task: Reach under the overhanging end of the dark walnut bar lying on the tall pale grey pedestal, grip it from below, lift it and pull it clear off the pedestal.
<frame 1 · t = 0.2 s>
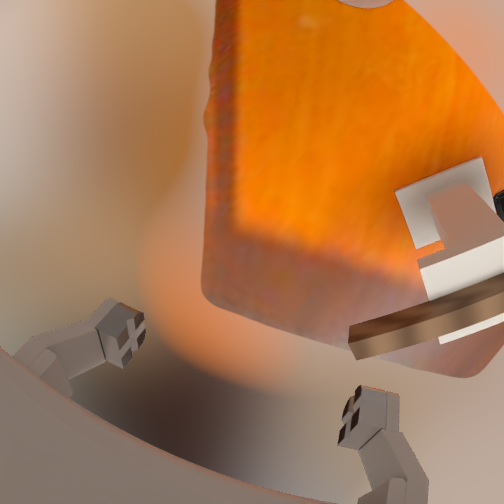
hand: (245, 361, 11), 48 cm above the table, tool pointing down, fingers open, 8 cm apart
walnut bar: (455, 302, 31), point 26 cm above the table, touching pedestal
pedestal: (448, 202, 49), on the table
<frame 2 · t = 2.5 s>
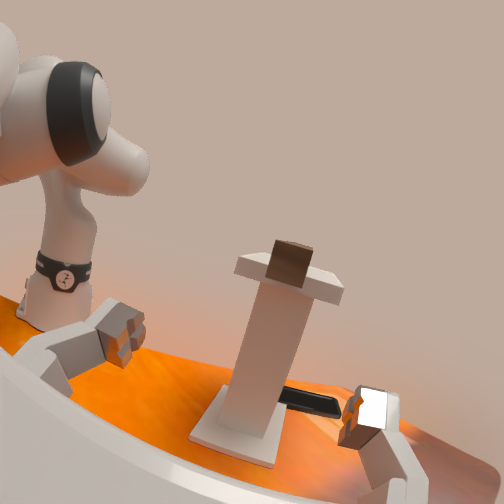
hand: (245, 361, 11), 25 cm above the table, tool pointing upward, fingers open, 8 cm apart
walnut bar: (292, 269, 38), point 26 cm above the table, touching pedestal
phone: (302, 404, 57), on the table
pedestal: (243, 423, 45), on the table
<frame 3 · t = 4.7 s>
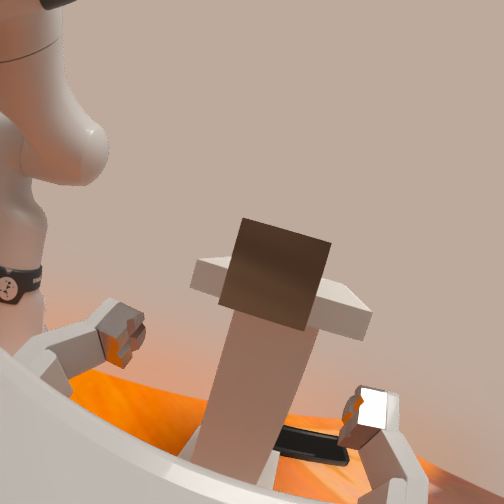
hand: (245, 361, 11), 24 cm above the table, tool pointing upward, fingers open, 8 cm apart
walnut bar: (287, 281, 23), point 26 cm above the table, touching pedestal
phone: (299, 448, 43), on the table
pedestal: (221, 481, 31), on the table
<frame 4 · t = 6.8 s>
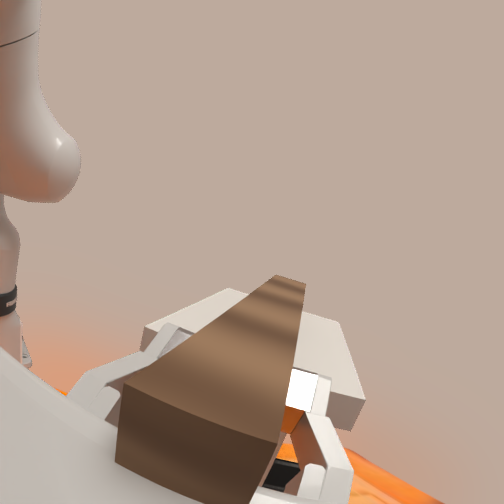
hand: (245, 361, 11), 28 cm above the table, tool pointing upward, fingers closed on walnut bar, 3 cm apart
walnut bar: (261, 349, 18), point 26 cm above the table, touching gripper, pedestal
phone: (289, 482, 38), on the table
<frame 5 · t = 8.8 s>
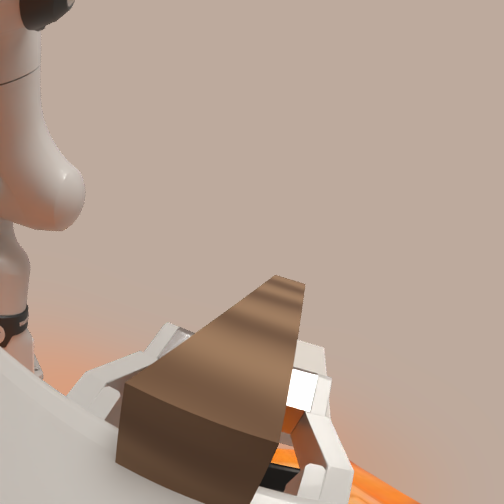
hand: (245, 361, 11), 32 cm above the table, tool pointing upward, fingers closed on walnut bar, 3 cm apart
walnut bar: (260, 349, 18), point 30 cm above the table, touching gripper
phone: (281, 485, 41), on the table
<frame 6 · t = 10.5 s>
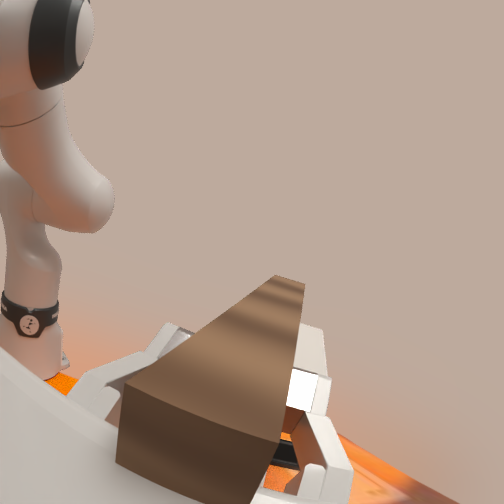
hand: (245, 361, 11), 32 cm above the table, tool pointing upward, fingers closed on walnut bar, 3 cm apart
walnut bar: (260, 349, 18), point 30 cm above the table, touching gripper
phone: (286, 457, 49), on the table
pedestal: (219, 487, 37), on the table
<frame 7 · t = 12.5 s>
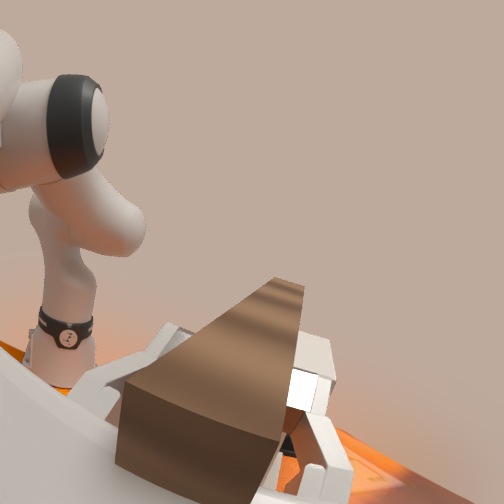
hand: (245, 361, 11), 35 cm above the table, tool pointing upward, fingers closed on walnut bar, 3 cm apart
walnut bar: (260, 351, 18), point 33 cm above the table, touching gripper
phone: (297, 449, 57), on the table
pedestal: (242, 474, 45), on the table
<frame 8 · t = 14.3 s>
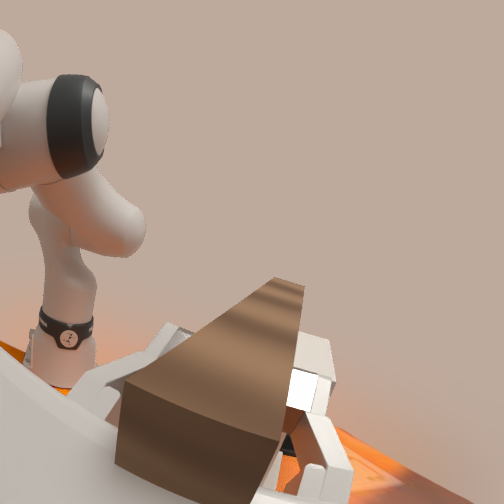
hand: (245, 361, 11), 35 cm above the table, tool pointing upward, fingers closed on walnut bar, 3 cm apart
walnut bar: (260, 351, 18), point 33 cm above the table, touching gripper
phone: (297, 449, 58), on the table
pedestal: (242, 473, 46), on the table
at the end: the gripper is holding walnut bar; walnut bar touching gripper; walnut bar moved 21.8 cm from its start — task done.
